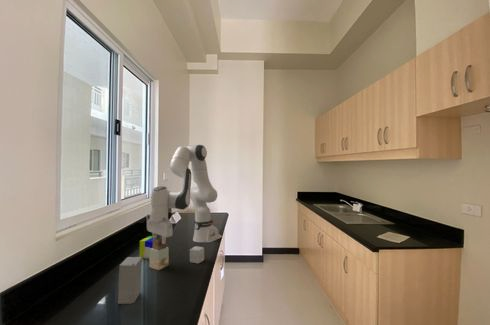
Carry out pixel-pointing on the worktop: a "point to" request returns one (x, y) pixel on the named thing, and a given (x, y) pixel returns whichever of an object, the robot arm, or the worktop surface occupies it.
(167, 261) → the tower base
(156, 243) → the walnut block
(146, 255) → the puzzle toy
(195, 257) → the skincare box
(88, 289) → the worktop surface
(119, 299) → the skincare box
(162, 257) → the block
